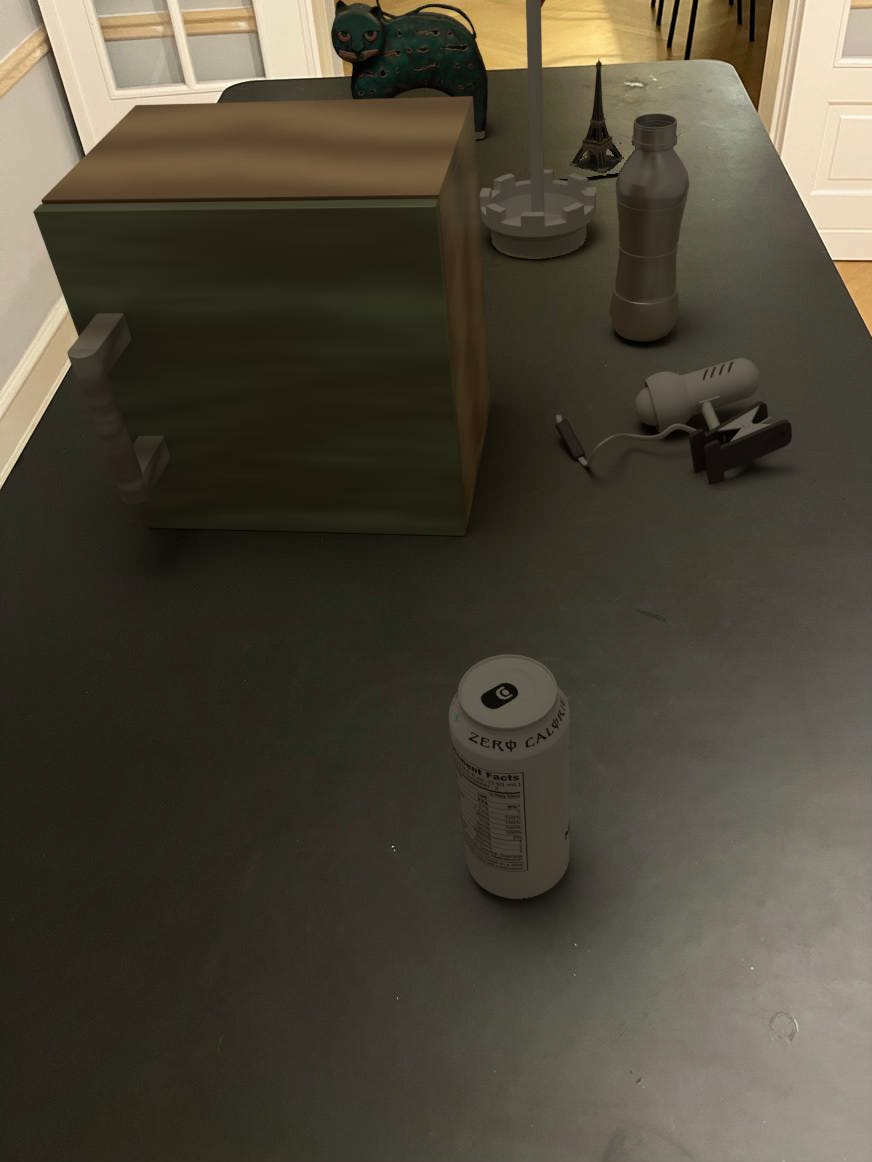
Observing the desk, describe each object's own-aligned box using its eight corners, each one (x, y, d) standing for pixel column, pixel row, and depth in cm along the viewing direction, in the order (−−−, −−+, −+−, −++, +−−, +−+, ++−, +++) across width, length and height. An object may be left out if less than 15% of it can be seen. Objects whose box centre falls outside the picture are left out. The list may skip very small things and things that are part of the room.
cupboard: (467, 526, 83) (438, 194, 65) (153, 518, 87) (40, 199, 68) (491, 403, 96) (472, 96, 77) (216, 400, 99) (135, 104, 81)
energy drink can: (591, 870, 60) (595, 697, 50) (507, 927, 58) (493, 758, 47) (528, 803, 64) (520, 628, 53) (447, 854, 62) (421, 682, 51)
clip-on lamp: (584, 527, 87) (797, 464, 85) (569, 473, 82) (794, 404, 80) (558, 438, 94) (753, 378, 92) (543, 383, 90) (748, 319, 87)
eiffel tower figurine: (642, 144, 139) (648, 32, 130) (664, 172, 132) (672, 56, 122) (532, 157, 138) (530, 45, 129) (548, 186, 131) (547, 70, 121)
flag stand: (563, 272, 114) (562, -50, 93) (461, 252, 119) (438, -58, 98) (613, 225, 122) (623, -82, 100) (515, 208, 127) (505, -88, 106)
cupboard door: (455, 587, 78) (420, 249, 60) (121, 576, 81) (-9, 252, 63) (466, 526, 83) (438, 198, 65) (152, 519, 86) (39, 203, 68)
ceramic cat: (346, 153, 143) (322, -15, 129) (350, 136, 148) (327, -28, 133) (491, 143, 142) (482, -26, 128) (490, 127, 147) (482, -39, 133)
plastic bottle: (622, 313, 107) (630, 104, 92) (685, 324, 104) (704, 111, 90) (599, 343, 103) (604, 129, 88) (664, 355, 100) (681, 138, 86)
